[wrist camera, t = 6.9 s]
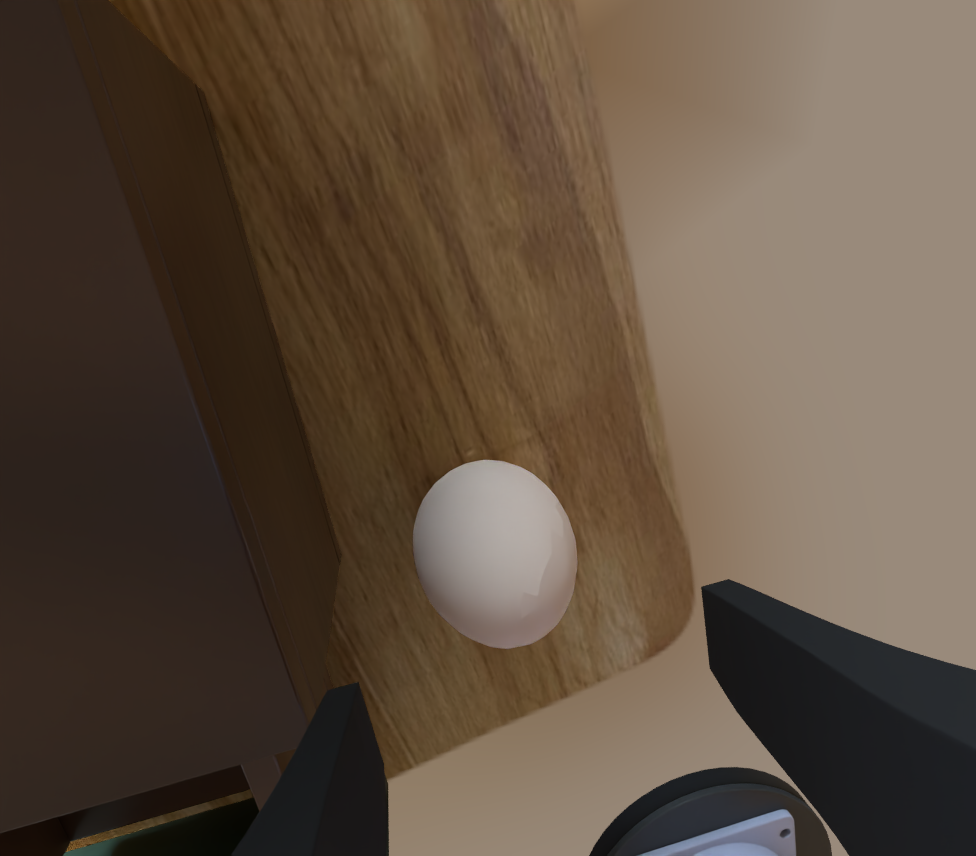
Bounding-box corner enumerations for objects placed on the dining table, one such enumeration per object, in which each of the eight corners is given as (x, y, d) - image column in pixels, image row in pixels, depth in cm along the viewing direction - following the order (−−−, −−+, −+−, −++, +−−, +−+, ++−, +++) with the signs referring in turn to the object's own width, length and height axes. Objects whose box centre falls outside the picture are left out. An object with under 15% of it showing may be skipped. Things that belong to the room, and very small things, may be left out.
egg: (380, 489, 20) (378, 608, 13) (492, 408, 20) (550, 486, 13) (459, 585, 22) (495, 738, 15) (564, 509, 22) (651, 628, 15)
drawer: (418, 879, 24) (431, 1107, 17) (121, 972, 23) (16, 1255, 16) (283, 447, 19) (230, 545, 12) (-114, 540, 17) (-407, 703, 11)
